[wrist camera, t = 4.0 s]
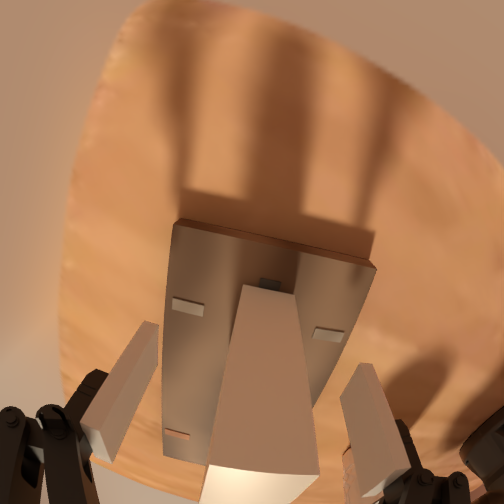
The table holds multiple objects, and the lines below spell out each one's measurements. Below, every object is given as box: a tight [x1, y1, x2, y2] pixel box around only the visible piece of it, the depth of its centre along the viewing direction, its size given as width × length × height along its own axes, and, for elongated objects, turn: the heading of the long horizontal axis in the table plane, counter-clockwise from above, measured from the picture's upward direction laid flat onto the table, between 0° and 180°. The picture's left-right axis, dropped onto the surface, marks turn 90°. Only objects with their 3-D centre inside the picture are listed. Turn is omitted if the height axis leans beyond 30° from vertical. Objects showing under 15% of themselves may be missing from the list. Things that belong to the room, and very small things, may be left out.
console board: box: [162, 218, 377, 466], centre depth 20 cm, size 12×26×2 cm, turn 168°
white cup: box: [342, 448, 384, 504], centre depth 20 cm, size 8×8×10 cm
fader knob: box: [199, 284, 320, 504], centre depth 12 cm, size 3×5×11 cm, turn 168°
